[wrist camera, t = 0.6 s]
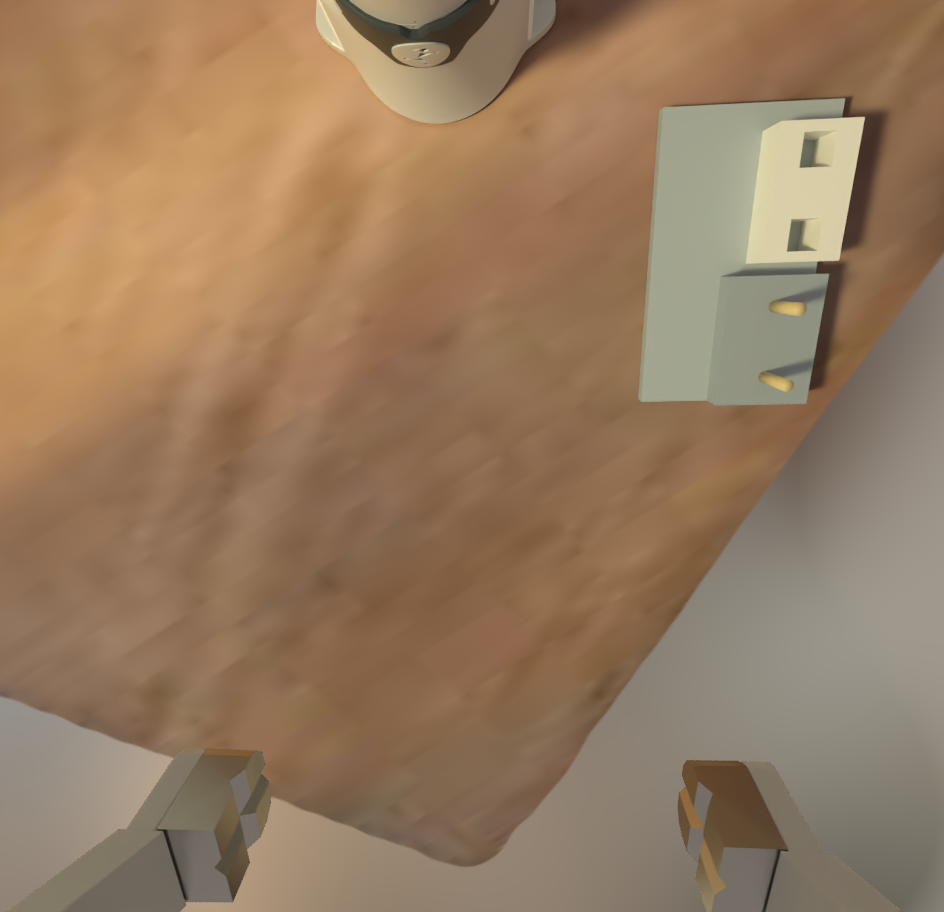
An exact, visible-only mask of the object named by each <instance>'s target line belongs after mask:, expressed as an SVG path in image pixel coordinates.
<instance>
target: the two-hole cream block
mask: <svg viewBox="0 0 944 912" xmlns="http://www.w3.org/2000/svg"><path fill="white" fill-rule="evenodd" d="M864 120H865V117H852V118H831V119H810V120H789V121H781V122H779V123H777V124H775V125H773V126H771V127H769V128H768V129H766V130H764V131H763V133H762V141H761V149H760V157H759V164H758V172H757V180H756V188H755V195H754V203H753V211H752V219H751V227H750V234H749V242H748V250H747V258H746V264H754V263H784V262H814V261H839V257H840V252H841V246H842V241H843V235H844V230H845V224H846V219H847V213H848V208H849V202H850V197H851V192H852V186H853V181H854V175H855V170H856V164H857V159H858V153H859V148H860V142H861V137H862V131H863V126H864ZM805 140H815V144H814V151H813V157H812V163H811V167H806V168H799V166H800V160H801V153H802V147H803V141H805ZM791 222H802V227H801V233H800V240H799V246H798V251H792V252H787V246H788V239H789V233H790V226H791Z"/></svg>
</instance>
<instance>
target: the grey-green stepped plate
mask: <svg viewBox="0 0 944 912" xmlns="http://www.w3.org/2000/svg"><path fill="white" fill-rule="evenodd" d="M844 103H845V98H840V99H820V100H800V101H780V102H759V103H739V104H719V105H699V106H679V107H663V108H662V109H661V110H660V111H659V118H658V132H657V146H656V160H655V174H654V188H653V202H652V215H651V229H650V243H649V257H648V271H647V285H646V298H645V312H644V326H643V340H642V354H641V368H640V382H639V395H638V399H639V400H640V401H641V402H651V401H703V400H706V401H708V402H710V403H711V404H713V405H764V404H806V402H807V396H808V390H809V385H810V379H811V374H812V368H813V362H814V357H815V351H816V345H817V340H818V334H819V329H820V323H821V317H822V312H823V306H824V300H825V295H826V289H827V283H828V278H829V274H816V268H817V262H818V261H814V262H784V263H754V264H746V258H747V250H748V242H749V234H750V227H751V219H752V211H753V203H754V195H755V188H756V180H757V172H758V164H759V157H760V149H761V141H762V133H763V131H764V130H766V129H768V128H769V127H771V126H773V125H775V124H777V123H779V122H781V121H789V120H810V119H831V118H842V115H843V109H844ZM814 144H815V140H805V141H803V147H802V153H801V160H800V166H799V168H806V167H811V163H812V157H813V151H814ZM801 227H802V222H791V226H790V233H789V239H788V246H787V252H792V251H798V246H799V240H800V233H801Z"/></svg>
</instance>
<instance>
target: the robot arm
mask: <svg viewBox="0 0 944 912" xmlns="http://www.w3.org/2000/svg"><path fill="white" fill-rule="evenodd" d="M555 17H556V2H555V0H317V7H316V25H317V28H318V31H319V33H320V35H321V37H322V38H323V40H324V41H325V42H326V43H327V44H328V45H329V46H330V47H332V48H333V49H334V50H336V51H337V52H339V53H340V54H341V55H343V56H344V57H346V58H347V59H349V60H350V61H351V62H352V63H353V64H354V66H355V67H356V69H357V70H358V71H359V73H360V75H361V76H362V78H363V79H364V81H365V82H366V84H367V85H368V86H369V88H370V89H371V90H372V92H373V93H374V94H375V95H376V96H377V97H378V98H379V99H380V100H381V101H382V102H383V103H384V104H385V105H387V106H388V107H389V108H391V109H392V110H394V111H395V112H397V113H399V114H401V115H402V116H405V117H407V118H409V119H412V120H415V121H419V122H424V123H434V124H438V123H449V122H454V121H458V120H461V119H464V118H466V117H468V116H471V115H472V114H474V113H476V112H478V111H479V110H481V109H482V108H484V107H485V106H486V105H487V104H489V103H490V102H491V101H492V100H493V99H494V98H495V97H496V96H497V95H498V94H499V93H500V91H501V90H502V89H503V88H504V86H505V85H506V83H507V82H508V80H509V79H510V77H511V75H512V74H513V72H514V70H515V68H516V66H517V64H518V62H519V60H520V59H521V57H522V56H523V54H524V53H525V51H526V50H527V49H528V48H530V47H531V46H532V45H533V44H534V43H536V42H537V41H538V40H539V39H540V38H542V37H543V36H544V35H545V34H546V33H547V32H548V31H549V29H550V28H551V27H552V25H553V23H554V21H555ZM264 767H265V760H264V756H263V752H261V751H250V750H232V749H213V748H186V747H185V748H184V749H182V750H181V751H180V752H179V753H177V754H176V755H175V757H174V758H173V760H172V762H171V763H170V765H169V766H168V768H167V769H166V771H165V772H164V773H163V775H162V777H161V778H160V780H159V781H158V783H157V784H156V785H155V787H154V789H153V790H152V792H151V793H150V794H149V796H148V797H147V799H146V801H145V802H144V803H143V805H142V806H141V808H140V809H139V811H138V813H137V814H136V815H135V817H134V819H133V820H132V821H131V823H130V824H129V826H128V828H127V829H124V830H123V829H118V830H117V831H116V832H114V833H113V834H111V835H110V836H109V837H107V838H106V839H105V840H103V841H102V842H101V843H99V844H98V845H96V846H95V847H94V848H92V849H91V850H90V851H88V852H87V853H86V854H84V855H83V856H81V857H80V858H79V859H77V860H76V861H75V862H73V863H72V864H71V865H69V866H68V867H67V868H65V869H64V870H63V871H61V872H60V873H58V874H57V875H56V876H54V877H53V878H52V879H50V880H49V881H47V882H46V883H45V884H43V885H42V886H41V887H39V888H38V889H36V890H35V891H34V892H32V893H31V894H30V895H28V896H27V897H26V898H24V899H23V900H22V901H20V902H19V903H17V904H16V905H15V906H13V907H12V908H11V909H9V910H8V911H6V912H180V911H181V910H182V909H183V908H184V907H185V906H186V903H185V902H233V901H234V899H235V896H236V894H237V891H238V889H239V887H240V884H241V882H242V880H243V877H244V875H245V872H246V870H247V868H248V866H249V863H250V861H249V856H248V852H247V849H248V848H249V847H250V846H251V845H252V844H253V843H254V842H256V841H257V840H258V839H259V838H260V837H261V834H262V832H263V829H264V827H265V824H266V822H267V818H268V813H269V809H270V804H271V789H270V783H269V781H268V780H267V779H266V778H265V777H264V776H263V775H262V774H261V773H262V771H263V769H264ZM682 777H683V779H684V782H685V785H686V787H685V788H684V789H683V790H681V791H680V792H679V800H678V815H679V824H680V828H681V833H682V837H683V841H684V844H685V847H686V851H687V852H688V853H689V854H690V855H691V856H692V857H693V858H694V859H695V860H696V861H697V862H698V866H697V872H696V882H697V885H698V888H699V891H700V894H701V896H702V900H703V903H704V906H705V909H706V912H902V911H901V910H900V909H898V908H897V907H896V906H895V905H894V904H893V903H891V902H890V901H889V900H888V899H887V898H885V897H884V896H883V895H882V894H881V893H879V892H878V891H877V890H876V889H874V888H873V887H872V886H871V885H870V884H869V883H867V882H866V881H865V880H864V879H862V878H861V877H860V876H859V875H857V873H855V872H854V871H853V870H851V869H850V868H849V867H848V866H847V865H846V864H844V863H843V862H842V861H841V860H840V859H838V858H837V857H836V856H835V855H834V854H832V853H824V852H822V850H821V848H820V846H819V845H818V843H817V841H816V839H815V838H814V836H813V834H812V832H811V831H810V829H809V827H808V825H807V823H806V821H805V820H804V818H803V816H802V815H801V813H800V811H799V809H798V807H797V805H796V804H795V802H794V800H793V798H792V797H791V795H790V793H789V791H788V789H787V788H786V786H785V784H784V782H783V780H782V779H781V777H780V775H779V773H778V772H777V770H776V768H775V767H774V766H773V765H772V764H771V763H770V762H743V761H742V762H739V761H700V760H696V761H695V760H687V761H686V762H685V764H684V765H683V771H682Z"/></svg>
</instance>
